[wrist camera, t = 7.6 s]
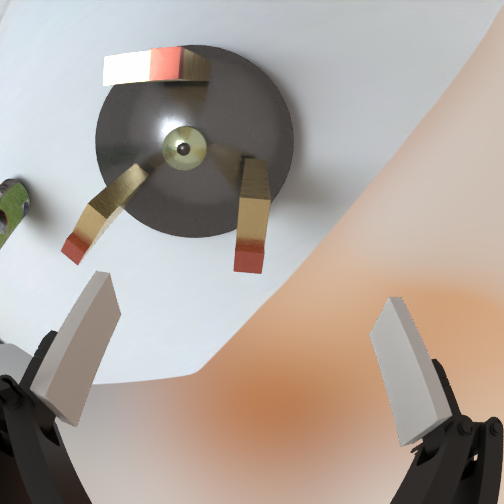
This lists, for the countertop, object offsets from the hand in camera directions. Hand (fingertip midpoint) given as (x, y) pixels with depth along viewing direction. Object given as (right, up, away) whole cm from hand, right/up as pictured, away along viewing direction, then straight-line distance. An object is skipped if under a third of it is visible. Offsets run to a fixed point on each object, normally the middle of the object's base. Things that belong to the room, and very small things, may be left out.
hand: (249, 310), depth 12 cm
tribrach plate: (-6, +13, +12) cm, 19 cm away
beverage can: (-31, +10, +15) cm, 36 cm away
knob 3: (0, +9, +13) cm, 16 cm away
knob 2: (-6, +18, +7) cm, 20 cm away
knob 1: (-12, +9, +13) cm, 20 cm away
